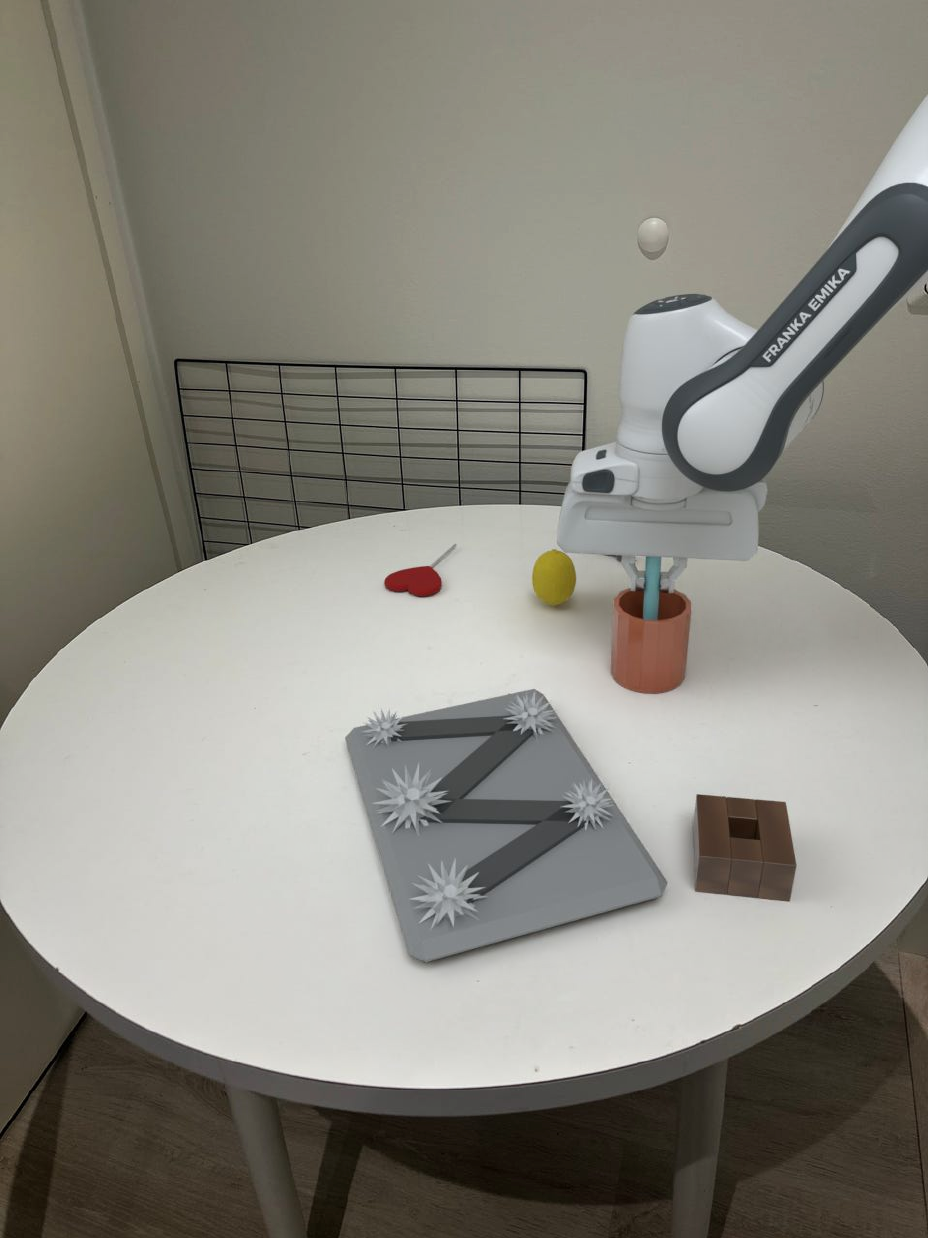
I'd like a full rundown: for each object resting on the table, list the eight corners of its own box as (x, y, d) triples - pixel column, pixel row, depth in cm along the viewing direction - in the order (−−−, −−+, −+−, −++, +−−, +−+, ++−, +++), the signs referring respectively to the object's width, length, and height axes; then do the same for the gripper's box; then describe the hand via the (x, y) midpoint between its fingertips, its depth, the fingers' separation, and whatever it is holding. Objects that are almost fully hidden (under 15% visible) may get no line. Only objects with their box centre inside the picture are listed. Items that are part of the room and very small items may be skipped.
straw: (654, 664, 101) (661, 544, 93) (654, 672, 100) (661, 551, 92) (640, 664, 101) (646, 544, 94) (640, 671, 100) (646, 551, 92)
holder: (779, 836, 78) (785, 801, 76) (789, 901, 72) (796, 866, 70) (692, 828, 79) (696, 793, 77) (695, 891, 73) (699, 856, 71)
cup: (684, 655, 103) (690, 586, 99) (685, 696, 96) (692, 624, 92) (612, 650, 105) (615, 583, 100) (608, 691, 98) (611, 620, 93)
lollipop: (431, 543, 132) (378, 588, 121) (430, 537, 132) (377, 582, 120) (480, 552, 129) (431, 599, 117) (480, 546, 128) (430, 593, 117)
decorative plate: (672, 904, 72) (678, 840, 69) (413, 977, 67) (405, 912, 64) (540, 700, 97) (539, 644, 94) (345, 743, 92) (336, 686, 89)
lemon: (523, 605, 115) (522, 550, 111) (554, 591, 118) (554, 536, 114) (554, 621, 111) (554, 564, 107) (584, 605, 114) (586, 549, 110)
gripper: (767, 458, 89) (750, 580, 96) (561, 453, 93) (560, 571, 100) (773, 482, 84) (755, 610, 91) (555, 476, 88) (554, 599, 95)
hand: (651, 589), depth 95 cm, fingers closed on straw, 2 cm apart
